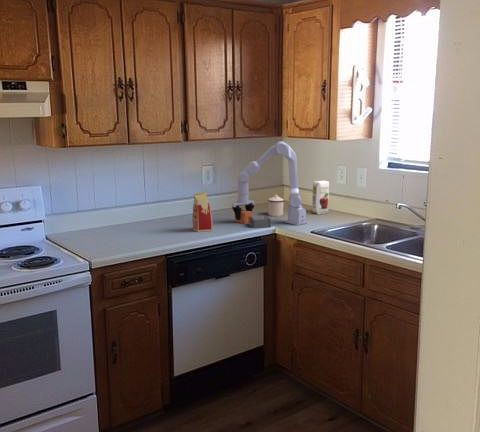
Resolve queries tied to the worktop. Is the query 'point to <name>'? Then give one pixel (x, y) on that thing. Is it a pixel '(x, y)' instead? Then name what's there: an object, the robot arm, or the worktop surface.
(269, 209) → the teacup with lid
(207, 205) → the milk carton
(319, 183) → the juice carton
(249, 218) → the coupler channel
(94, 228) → the worktop surface
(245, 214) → the block
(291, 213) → the robot arm
